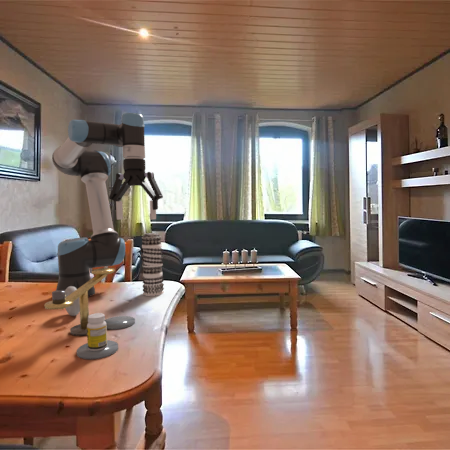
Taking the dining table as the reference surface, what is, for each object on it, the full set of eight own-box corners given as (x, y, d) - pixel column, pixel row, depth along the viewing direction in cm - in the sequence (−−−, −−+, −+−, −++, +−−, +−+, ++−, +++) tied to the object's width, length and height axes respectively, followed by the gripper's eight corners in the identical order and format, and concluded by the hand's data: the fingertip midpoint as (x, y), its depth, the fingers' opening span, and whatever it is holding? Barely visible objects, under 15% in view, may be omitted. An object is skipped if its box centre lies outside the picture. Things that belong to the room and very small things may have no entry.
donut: (63, 313, 122) (61, 284, 122) (73, 311, 125) (72, 283, 124) (72, 320, 115) (70, 289, 114) (83, 317, 117) (81, 288, 116)
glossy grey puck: (94, 327, 108) (94, 325, 107) (114, 317, 117) (114, 314, 117) (123, 330, 104) (122, 328, 104) (141, 319, 114) (141, 317, 114)
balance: (39, 346, 94) (35, 285, 93) (101, 316, 119) (99, 267, 117) (63, 350, 91) (60, 287, 90) (122, 318, 116) (120, 268, 115)
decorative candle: (138, 295, 143) (136, 234, 142) (147, 290, 153) (144, 232, 151) (160, 296, 142) (158, 234, 140) (167, 290, 151) (165, 232, 149)
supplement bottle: (90, 344, 93) (89, 312, 92) (109, 343, 93) (108, 311, 93) (85, 352, 88) (83, 318, 87) (104, 351, 88) (103, 318, 88)
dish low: (67, 356, 87) (67, 353, 87) (94, 341, 97) (94, 338, 97) (101, 361, 84) (101, 358, 84) (126, 345, 94) (125, 342, 94)
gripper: (97, 159, 125) (99, 220, 126) (160, 155, 117) (162, 219, 118) (110, 161, 132) (112, 218, 133) (171, 158, 124) (172, 218, 125)
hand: (136, 219), depth 126 cm, fingers open, 13 cm apart
